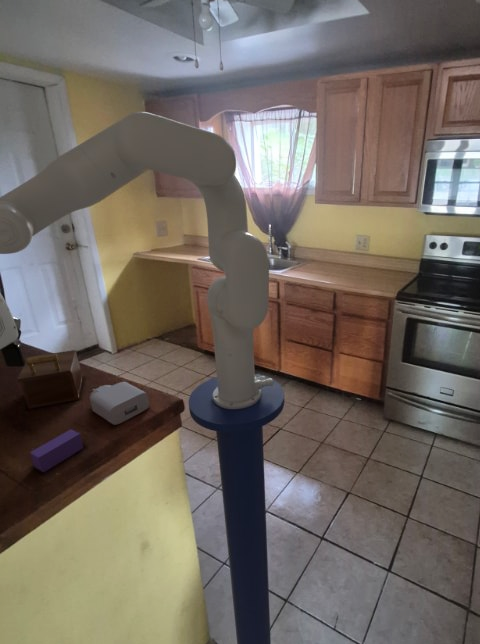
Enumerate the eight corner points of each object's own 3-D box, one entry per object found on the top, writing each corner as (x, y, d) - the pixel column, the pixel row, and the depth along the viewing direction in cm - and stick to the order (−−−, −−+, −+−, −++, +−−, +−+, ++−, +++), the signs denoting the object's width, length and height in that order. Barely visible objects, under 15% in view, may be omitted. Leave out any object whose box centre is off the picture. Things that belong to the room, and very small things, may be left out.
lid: (71, 373, 89) (66, 356, 87) (18, 382, 85) (12, 364, 83) (76, 352, 99) (72, 336, 97) (29, 359, 95) (24, 343, 93)
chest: (79, 399, 92) (71, 372, 89) (28, 409, 88) (19, 380, 85) (83, 378, 102) (76, 352, 99) (37, 385, 98) (29, 359, 95)
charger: (115, 388, 97) (150, 407, 89) (79, 404, 90) (113, 426, 82) (112, 372, 95) (146, 390, 88) (75, 387, 89) (109, 409, 81)
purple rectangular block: (74, 443, 77) (70, 429, 76) (83, 447, 76) (79, 433, 75) (34, 467, 71) (29, 452, 70) (43, 472, 70) (38, 457, 68)
